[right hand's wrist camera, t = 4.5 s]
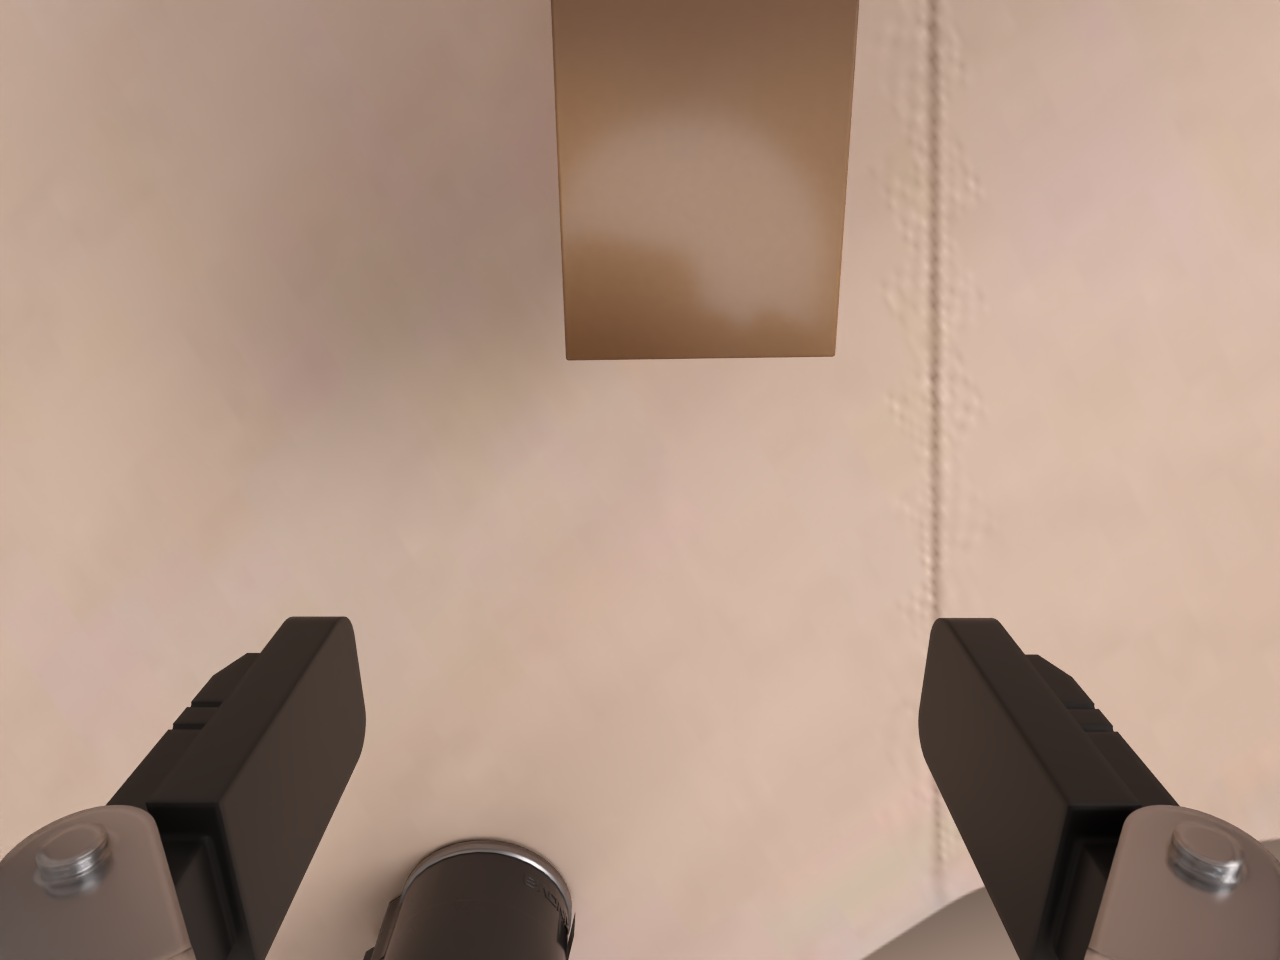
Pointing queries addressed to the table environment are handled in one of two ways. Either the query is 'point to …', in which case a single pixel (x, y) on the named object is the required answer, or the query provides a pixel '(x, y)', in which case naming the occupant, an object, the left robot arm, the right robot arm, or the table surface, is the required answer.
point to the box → (702, 175)
